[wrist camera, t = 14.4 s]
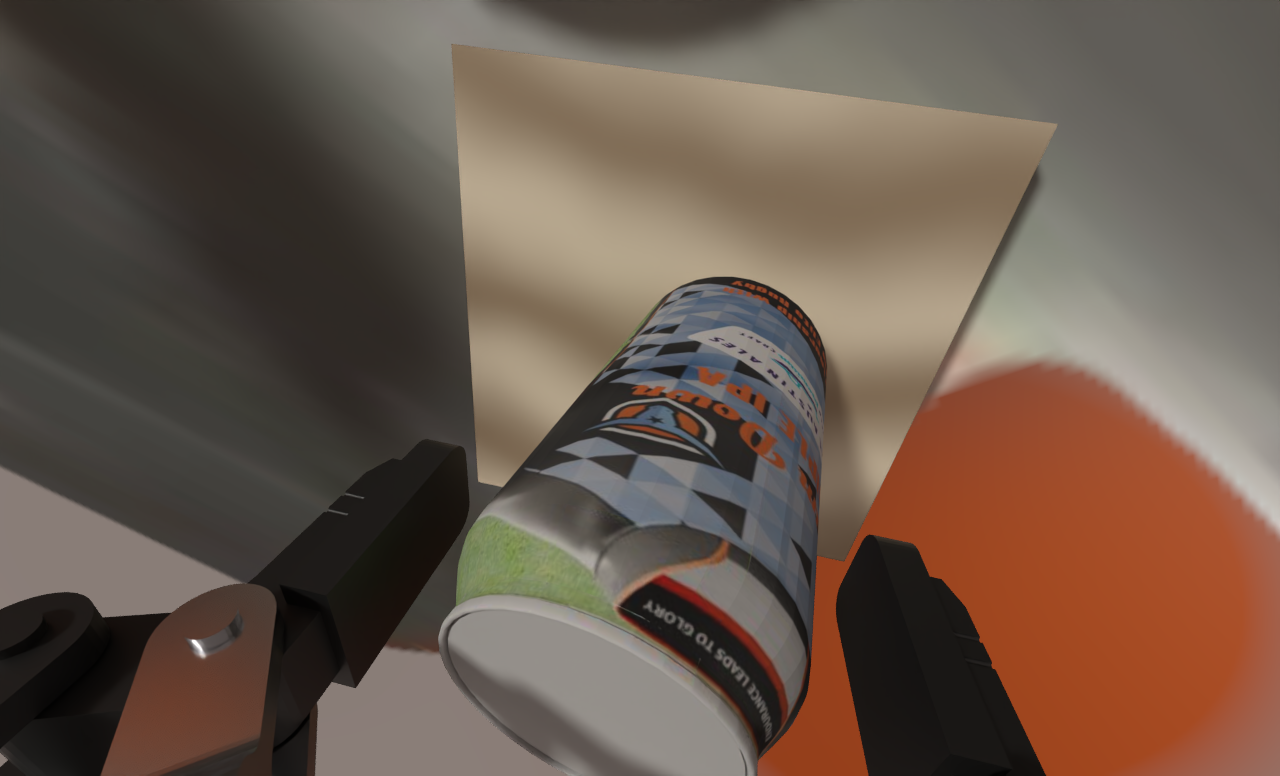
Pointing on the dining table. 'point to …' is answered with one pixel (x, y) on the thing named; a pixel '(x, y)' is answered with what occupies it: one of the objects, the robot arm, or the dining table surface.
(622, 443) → the beverage can
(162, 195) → the dining table surface
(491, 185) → the coaster board
